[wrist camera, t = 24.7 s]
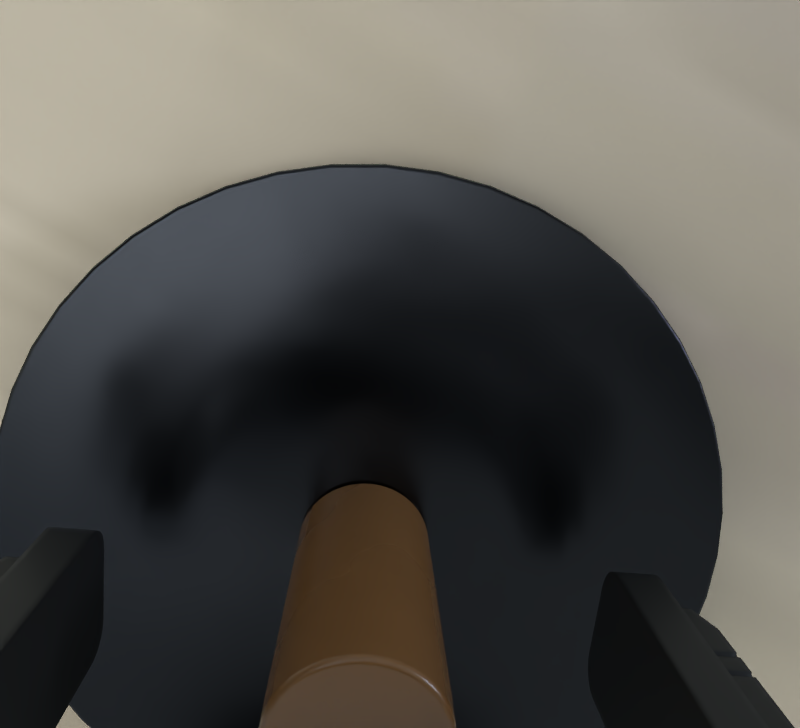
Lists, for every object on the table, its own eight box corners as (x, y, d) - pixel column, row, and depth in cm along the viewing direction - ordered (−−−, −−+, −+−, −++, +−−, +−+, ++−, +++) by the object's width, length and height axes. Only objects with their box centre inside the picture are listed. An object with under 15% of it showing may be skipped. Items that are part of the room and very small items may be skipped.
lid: (319, -8, 12) (266, -188, 6) (835, 478, 15) (1147, 680, 9) (-117, 550, 14) (-463, 812, 8) (396, 888, 17) (409, 1269, 11)
